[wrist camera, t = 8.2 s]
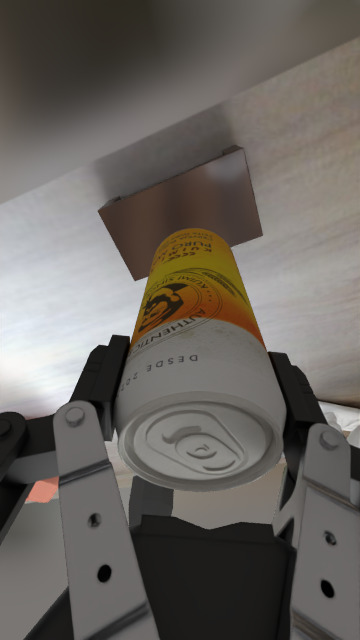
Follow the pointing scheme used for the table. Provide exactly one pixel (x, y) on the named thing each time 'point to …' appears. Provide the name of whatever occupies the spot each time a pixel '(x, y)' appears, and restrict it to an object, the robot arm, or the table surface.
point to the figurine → (343, 420)
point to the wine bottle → (148, 500)
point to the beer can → (198, 375)
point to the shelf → (185, 210)
